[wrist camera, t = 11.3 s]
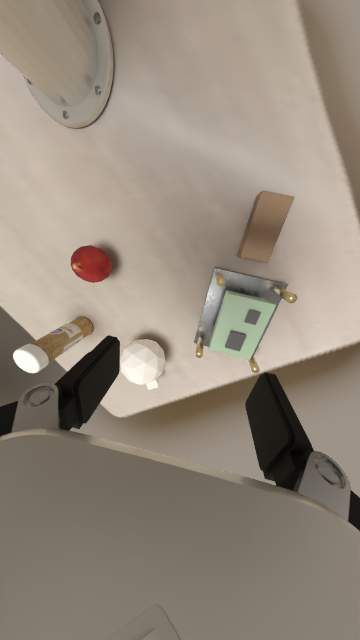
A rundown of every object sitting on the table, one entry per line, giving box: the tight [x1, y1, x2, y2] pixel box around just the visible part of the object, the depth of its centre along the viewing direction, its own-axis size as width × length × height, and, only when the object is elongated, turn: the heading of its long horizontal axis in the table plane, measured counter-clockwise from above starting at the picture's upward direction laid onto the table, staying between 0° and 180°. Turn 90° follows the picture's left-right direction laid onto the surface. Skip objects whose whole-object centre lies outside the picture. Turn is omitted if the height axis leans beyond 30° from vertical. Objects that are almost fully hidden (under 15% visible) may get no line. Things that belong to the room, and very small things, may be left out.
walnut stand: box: [237, 191, 294, 263], centre depth 24 cm, size 8×4×3 cm, turn 169°
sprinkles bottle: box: [13, 317, 93, 373], centre depth 32 cm, size 5×5×14 cm
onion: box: [71, 245, 112, 283], centre depth 27 cm, size 6×6×8 cm
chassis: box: [194, 268, 297, 373], centre depth 28 cm, size 15×12×6 cm
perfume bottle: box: [120, 339, 166, 390], centre depth 34 cm, size 9×9×12 cm
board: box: [209, 290, 276, 360], centre depth 26 cm, size 10×7×3 cm
